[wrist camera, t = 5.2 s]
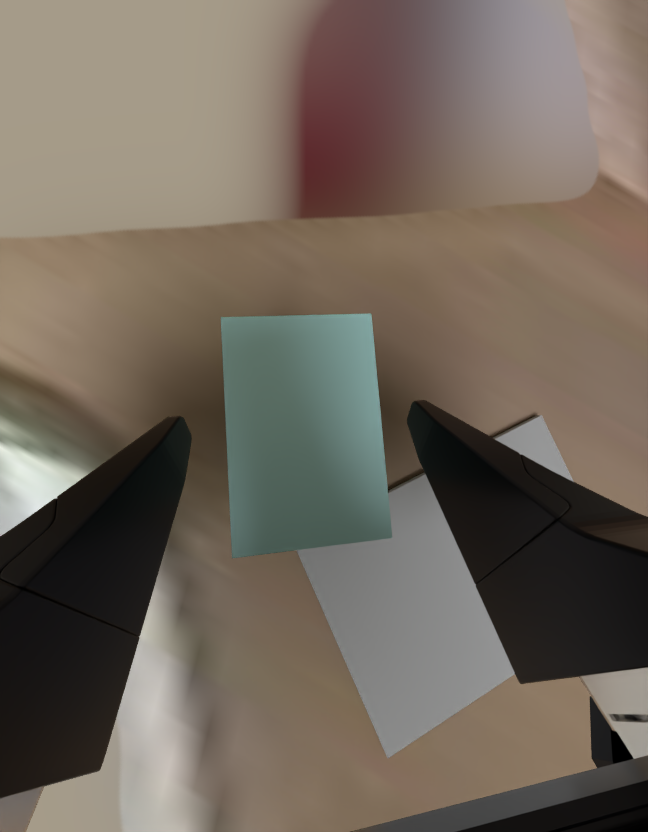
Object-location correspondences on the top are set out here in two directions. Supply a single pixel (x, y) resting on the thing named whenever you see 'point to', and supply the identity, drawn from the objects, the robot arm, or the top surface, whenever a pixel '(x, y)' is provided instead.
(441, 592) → the placemat
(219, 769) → the top surface
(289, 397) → the mint green pillar
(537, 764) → the top surface
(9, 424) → the top surface
